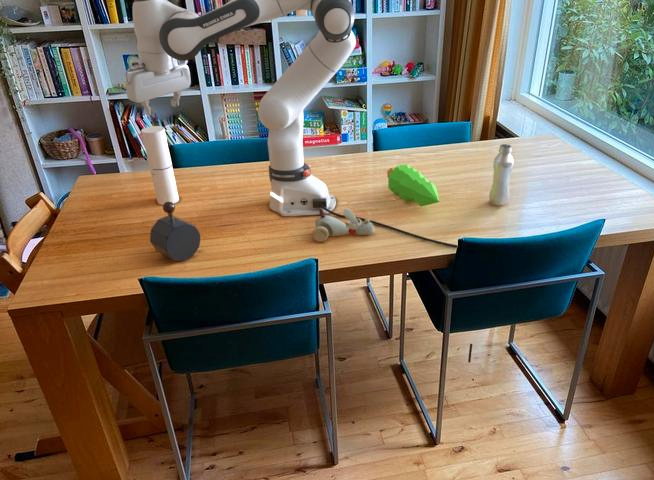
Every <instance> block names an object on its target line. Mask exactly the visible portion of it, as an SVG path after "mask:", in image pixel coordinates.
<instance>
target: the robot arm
mask: <svg viewBox="0 0 654 480" xmlns="http://www.w3.org/2000/svg"><path fill="white" fill-rule="evenodd" d="M301 10H302V11H303V10H304V11H309V12H310V13H311V15H312V18H313V19H314V21H315V24H316V27H317V28H318V32H317V34H316V36H315V37H314V38H313V39H311V41H310V42H309V43H308V44H307V45H306V47H304V49H303V50H302V51H301V52H300V54H299V55H298V56H297V57H296V58H295V59H294V61H292V63H291V64H290V66H288V67H287V69H285V71H284V72H283V73H282V74H281V76H280V77H279V78H278V79H277V80H276V81H275V83H274V84H272V86H271V87H270V88H268V90H267V92H266V93H265V94H264V95H263V97H261V99H260V101H259V104H258V108H257V116H258V119H259V121H260V123H261V124H262V125H263V126H264V127H265V128H266V129H268V135H267V136H268V137H267V150H268V159H269V165H268V176H269V181H270V197H269V204H268V207H269V209H271V210H272V211H274V212H276V213H278V214H279V215H280V216H281V217H297V216H298V217H299V216H317V215H318V216H319V215H320V212H319V209H320V208H321V209H322V210H323V212H324V214H325V215H328V214H331V215H334V216H336V217H339V218H343V219H347V218H346V217H345V216H344V215H343V214H341V213H336V212H335V211H333V210H334V209H335V208H336V205H337V200H336V199H337V198H336V197H335V196H334V195H333V194H330V193H329V189H328V186H327V184H326V182H324V181H322V180H321V179H319V178H317V177H316V176H315V175H313V174H312V173H311V171H312V170H311V167H312V166H311V163H309V164H307V163H305V160H304V159H305V158H304V143H303V134H304V110H305V109H306V107H308V106H309V104H310V103H311V102H312V101H313V100H314V98H315V97H316V96H317V95H318V94H319V93H320V91H322V89H323V88H324V87H325V86H326V85H327V84H328V83H329V82H330V80H331V79H333V77H334V76H335V75H336V74H337V73H338V72H339V70H340V69H341V68H342V67H343V65H344V64H346V61H347V60H348V59H349V58H350V56H351V54H352V53H353V51H354V49H355V47H356V44H357V40H356V36H355V34H354V32H353V30H352V28H353V27H354V24H355V7H354V5H353V3H352V0H229V1H228V2H227V3H225V4H223V5H221V6H219V7H217V8H215V9H213V10H211V11H208V12H205V13H203V14H200V15H199V14H198V13H197V12H195V11H193V10H190V9H186V8H183V7H181V6H178V5H176V4H174V3H172V2H170V1H169V0H134V1H133V2H132V23H133V31H134V34H135V36H136V39H137V45H136V50H137V56H138V64H136V65H131V66H129V67H128V69H127V70H126V71H125V88H126V97H127V99H128V100H129V101H131V102H134V103H136V104H141V106H142V107H143V108H144V111H145V115H147V116H153V115H155V112H154V108H153V107H151V106H150V100H153V99H156V98H160V97H163V96H167V95H169V94H173V96H172V99H170V105H171V107H174V108H177V107H179V106H180V98H181V96H182V91H184V90H186V89H189V88H190V87H191V85H192V80H191V71H190V68H189V66H188V65H187V64H188V63H189V61H190V60H193V59H194V58H195V57H196V56H197V55H199V53H200V52H201V51H202V49H203V48H205V46H206V45H209V44H210V43H211V42H214V41H216V40H218V39H220V38H222V37H225V36H227V35H229V34H232V33H233V32H236V31H238V30H241V29H243V28H247V27H250V26H254V25H259V24H263V23H266V22H270V21H273V20H276V19H279V18H281V17H285V16H286V15H288V14H292V13H293V12H295V11H301ZM355 217H356V218H359V219H360V220H361V221H362V222H365V219H366V218H363V217H359V216H355ZM369 222H371V223H372V224H373V225H376V226H380V227H383V228H387V229H389V230H393V231H395V232H399V233H401V234H404V235H408V236H410V237H413V238H416V239H420V240H423V241H426V242H430V243H434V244H439V245H442V246H446V247H450V248H456V249H458V248H457V245H458V244H452V243H449V242H443V241H440V240H435V239H432V238H428V237H424V236H421V235H417V234H416V233H415V234H414V233H412V232H408V231H406V230H402V229H400V228H396V227H394V226H392V225H391V226H390V225H388V224H384V223H381V222H378V221H374V220H371V219H369ZM472 350H473V343H470V344H469V351H468V359H467V363H468V364H470V363H471V362H472V361H471V360H472Z"/></svg>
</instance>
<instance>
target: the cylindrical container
mask: <svg viewBox="0 0 654 480" xmlns="http://www.w3.org/2000/svg"><path fill="white" fill-rule="evenodd" d="M140 132H141V136H142V140H143V144H144V149H145V152H146V153H145V154H146V158H147V162H148V167H149V172H150V176H151V179H152V185H153V189H154V193H155V197H156V202H157V204H159V205H161V206H163V204H164V203H165V202H172V203H173V204H174V205H175V204H176V203H177V202H179V200H180V197H179V193H178V187H177V183H176V178H175V173H174V168H173V163H172V158H171V154H170V150H169V143H168V139H167V134H166V129H165V127H164V126H161V125H151V126H146V127H143V128H142V129H141V130H140Z"/></svg>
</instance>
